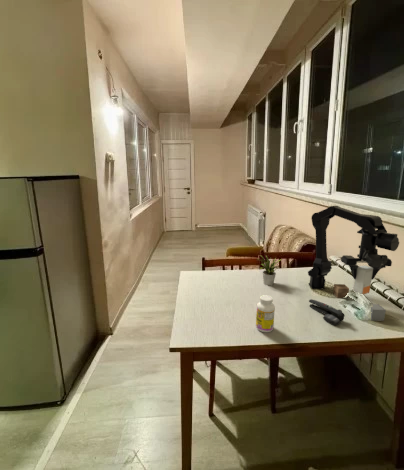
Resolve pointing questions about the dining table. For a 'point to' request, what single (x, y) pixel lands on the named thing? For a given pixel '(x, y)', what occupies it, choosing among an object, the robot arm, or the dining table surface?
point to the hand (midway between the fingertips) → (363, 279)
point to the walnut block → (340, 290)
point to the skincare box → (363, 279)
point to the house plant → (268, 271)
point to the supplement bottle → (265, 314)
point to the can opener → (328, 312)
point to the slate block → (377, 313)
